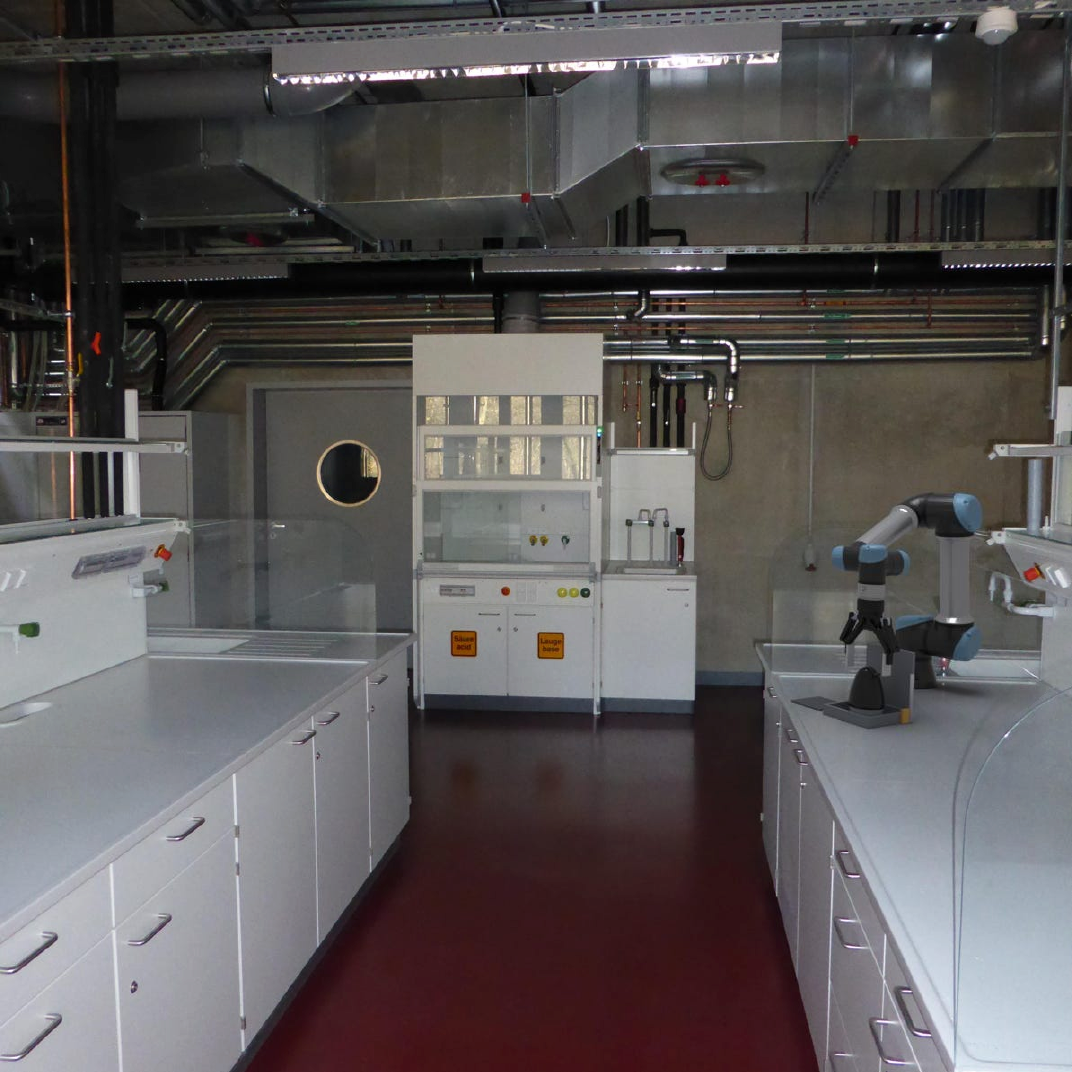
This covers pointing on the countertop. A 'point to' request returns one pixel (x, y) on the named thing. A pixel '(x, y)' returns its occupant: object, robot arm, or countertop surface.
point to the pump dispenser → (866, 693)
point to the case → (894, 687)
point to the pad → (813, 702)
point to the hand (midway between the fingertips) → (867, 671)
